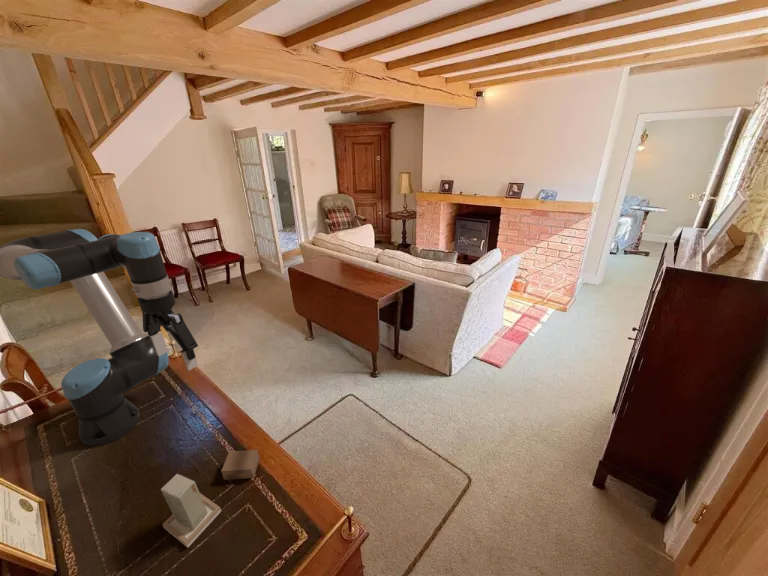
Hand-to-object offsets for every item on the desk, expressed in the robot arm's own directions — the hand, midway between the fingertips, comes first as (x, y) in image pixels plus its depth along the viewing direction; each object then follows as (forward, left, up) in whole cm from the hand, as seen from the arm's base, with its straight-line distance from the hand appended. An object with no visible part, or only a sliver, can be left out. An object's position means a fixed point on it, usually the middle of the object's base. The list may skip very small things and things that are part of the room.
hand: (177, 360), depth 89 cm
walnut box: (+22, -3, -29) cm, 37 cm away
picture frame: (+22, -18, -29) cm, 40 cm away
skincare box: (+22, -18, -28) cm, 40 cm away
